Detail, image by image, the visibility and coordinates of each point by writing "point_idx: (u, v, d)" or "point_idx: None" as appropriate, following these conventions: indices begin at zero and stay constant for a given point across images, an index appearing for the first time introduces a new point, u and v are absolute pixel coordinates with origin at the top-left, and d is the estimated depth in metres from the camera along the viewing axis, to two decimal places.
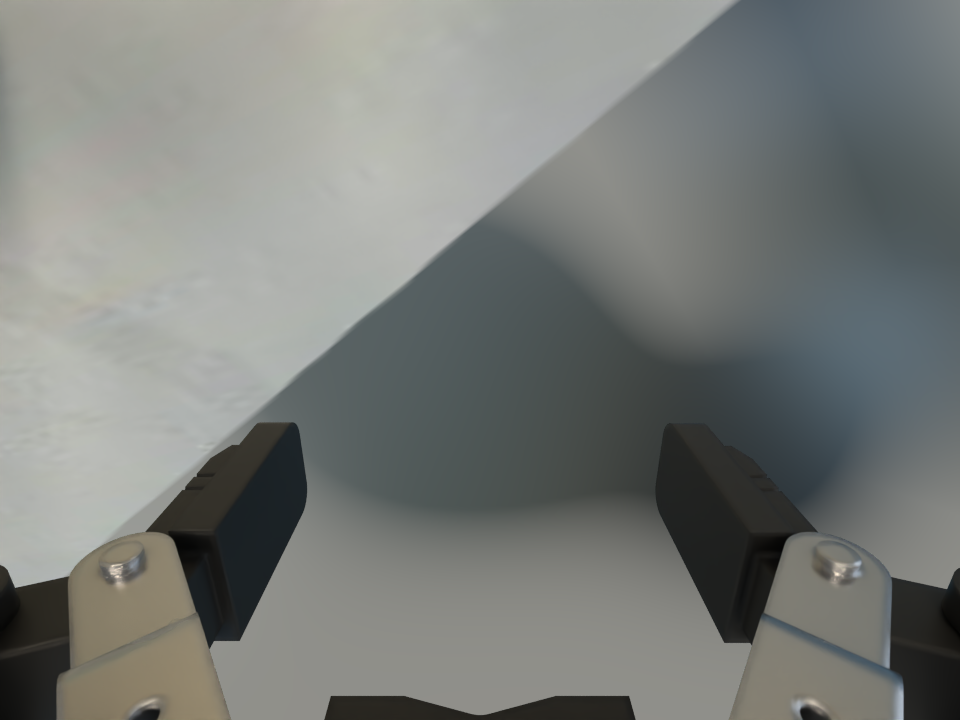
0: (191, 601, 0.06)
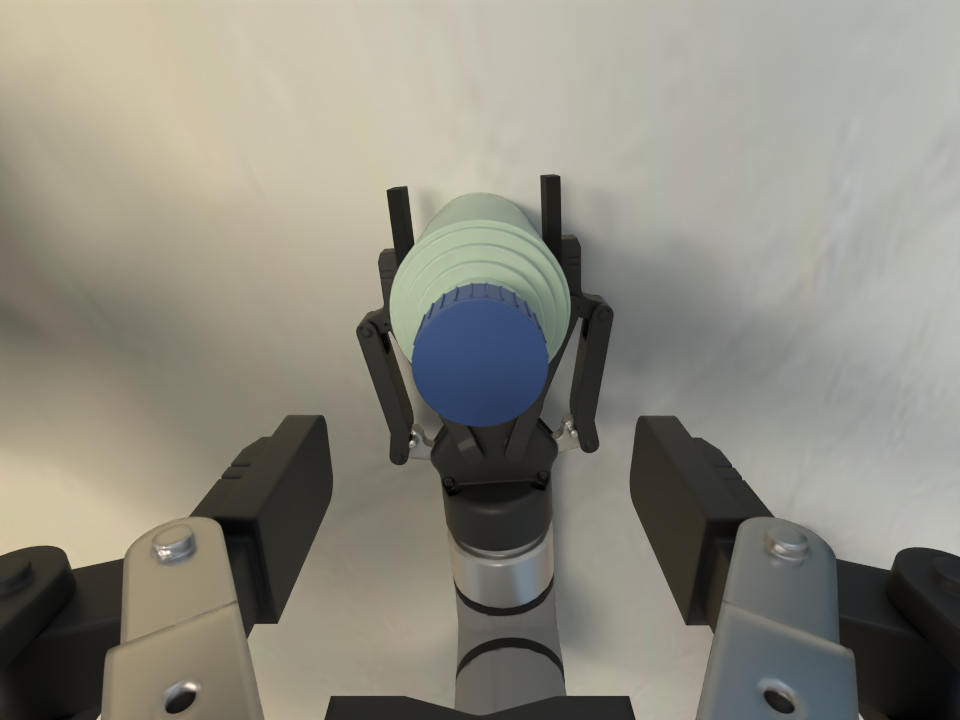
0: (233, 588, 0.06)
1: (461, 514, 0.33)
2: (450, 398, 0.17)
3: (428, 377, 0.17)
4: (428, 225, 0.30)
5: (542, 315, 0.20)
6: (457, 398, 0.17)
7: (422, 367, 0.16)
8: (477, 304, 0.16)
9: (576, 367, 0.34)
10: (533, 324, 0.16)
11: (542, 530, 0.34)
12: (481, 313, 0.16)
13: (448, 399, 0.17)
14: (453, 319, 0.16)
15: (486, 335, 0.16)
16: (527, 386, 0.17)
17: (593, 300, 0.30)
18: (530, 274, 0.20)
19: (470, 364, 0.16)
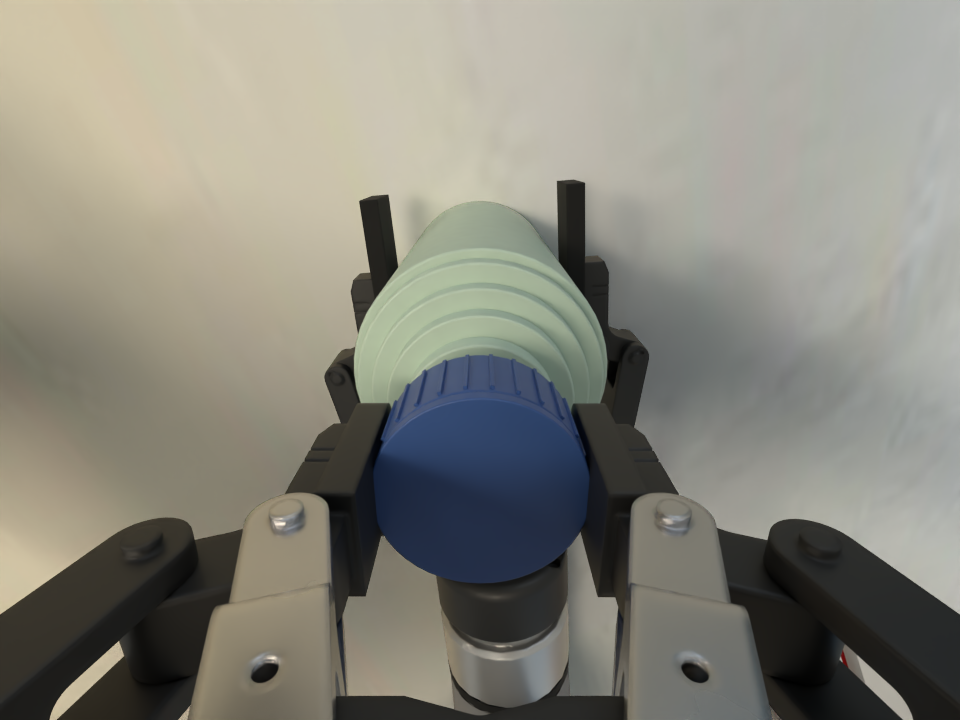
0: (329, 568, 0.07)
1: (457, 598, 0.27)
2: (433, 544, 0.11)
3: (397, 513, 0.10)
4: None
5: (571, 389, 0.14)
6: (444, 544, 0.11)
7: (387, 499, 0.10)
8: (476, 404, 0.09)
9: None
10: (568, 435, 0.10)
11: (556, 615, 0.28)
12: (483, 418, 0.10)
13: (430, 545, 0.11)
14: (436, 428, 0.10)
15: (492, 451, 0.10)
16: (556, 527, 0.10)
17: (623, 338, 0.24)
18: (554, 328, 0.14)
19: (465, 495, 0.10)
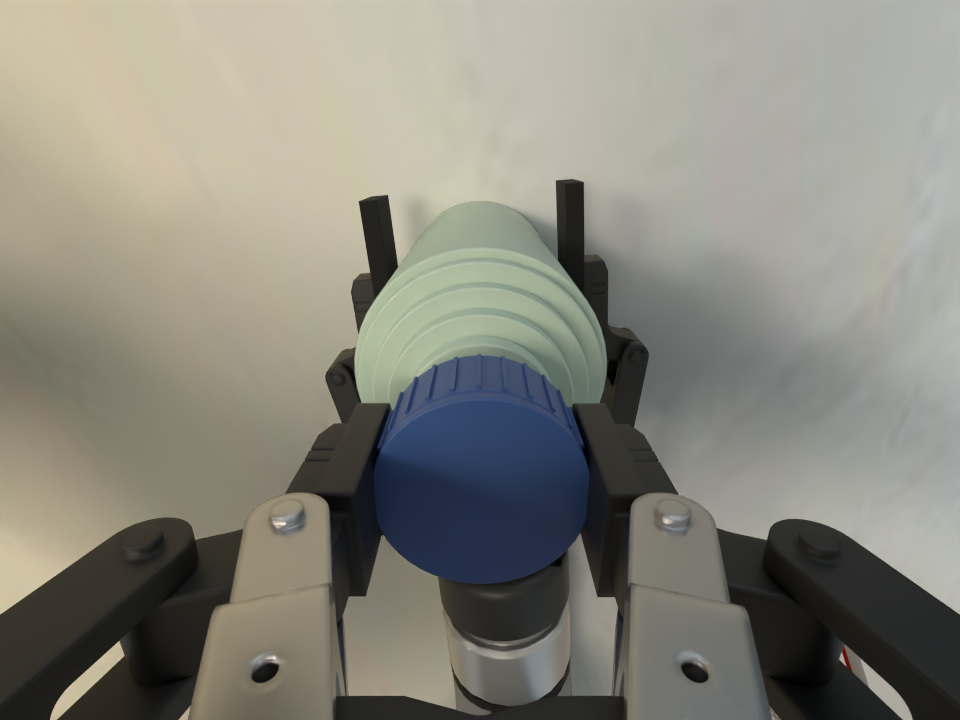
0: (330, 568, 0.07)
1: (458, 597, 0.27)
2: (544, 530, 0.10)
3: (513, 561, 0.11)
4: None
5: (571, 387, 0.14)
6: (542, 521, 0.10)
7: (497, 570, 0.11)
8: (381, 516, 0.10)
9: None
10: (393, 435, 0.10)
11: (558, 613, 0.28)
12: (393, 510, 0.10)
13: (546, 533, 0.10)
14: (412, 543, 0.11)
15: (426, 498, 0.10)
16: (503, 425, 0.10)
17: (623, 337, 0.24)
18: (554, 327, 0.14)
19: (480, 511, 0.10)
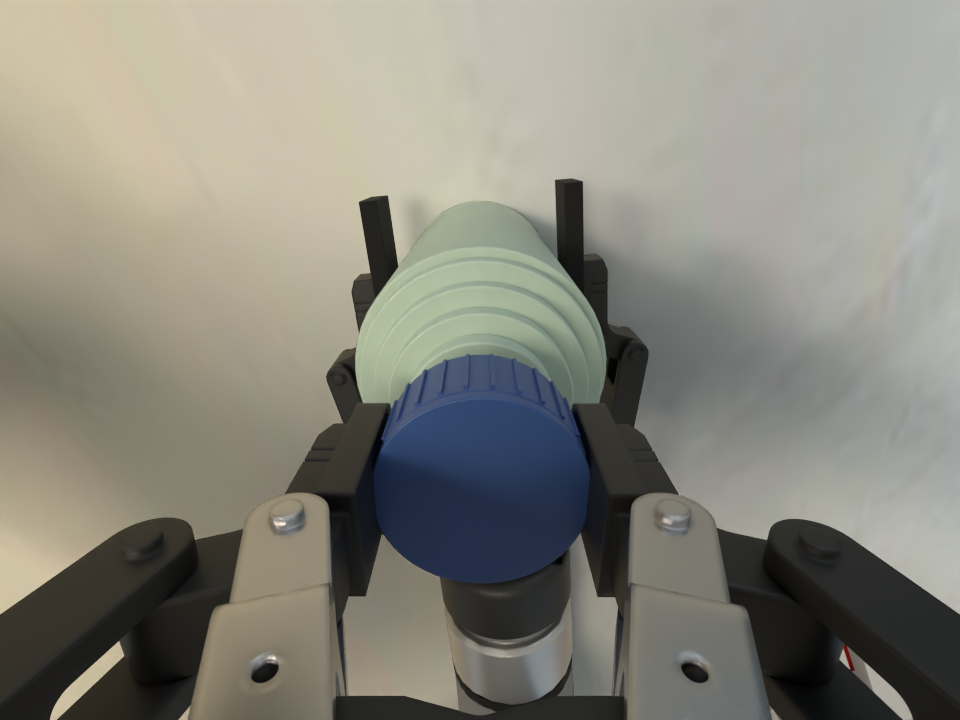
0: (330, 568, 0.07)
1: (460, 595, 0.27)
2: (509, 436, 0.10)
3: (556, 457, 0.10)
4: None
5: (570, 385, 0.14)
6: (498, 440, 0.10)
7: (571, 469, 0.10)
8: (518, 572, 0.11)
9: None
10: (430, 570, 0.11)
11: (559, 611, 0.28)
12: (508, 564, 0.11)
13: (512, 434, 0.10)
14: (545, 547, 0.11)
15: (489, 541, 0.11)
16: (395, 493, 0.10)
17: (622, 336, 0.24)
18: (553, 325, 0.14)
19: (497, 496, 0.10)
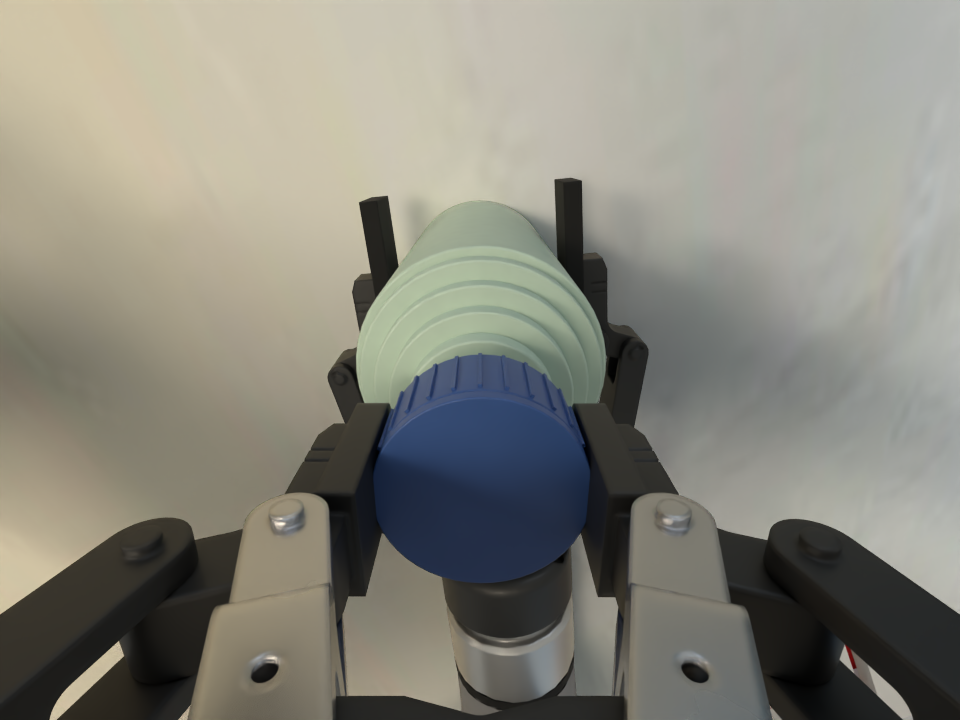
0: (329, 568, 0.07)
1: (462, 594, 0.27)
2: (407, 486, 0.10)
3: (420, 442, 0.10)
4: None
5: (570, 383, 0.14)
6: (413, 494, 0.10)
7: (431, 427, 0.10)
8: (573, 449, 0.10)
9: None
10: (582, 526, 0.10)
11: (561, 610, 0.28)
12: (563, 461, 0.10)
13: (404, 484, 0.10)
14: (533, 431, 0.10)
15: (535, 483, 0.10)
16: (490, 565, 0.11)
17: (622, 334, 0.24)
18: (553, 323, 0.14)
19: (477, 484, 0.10)
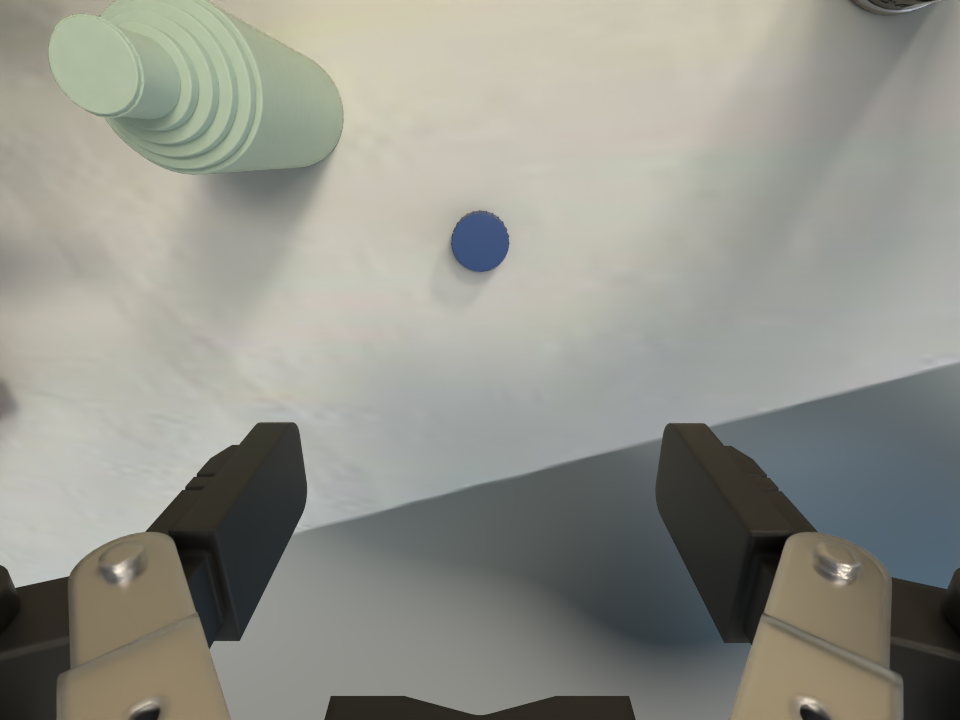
0: (191, 601, 0.06)
1: None
2: (461, 239, 0.39)
3: (465, 226, 0.39)
4: (298, 57, 0.31)
5: (167, 142, 0.23)
6: (462, 242, 0.39)
7: (467, 222, 0.39)
8: (503, 228, 0.39)
9: None
10: (506, 252, 0.40)
11: None
12: (500, 232, 0.39)
13: (460, 239, 0.39)
14: (492, 223, 0.39)
15: (493, 238, 0.39)
16: (482, 265, 0.40)
17: None
18: (207, 138, 0.23)
19: (479, 239, 0.39)
